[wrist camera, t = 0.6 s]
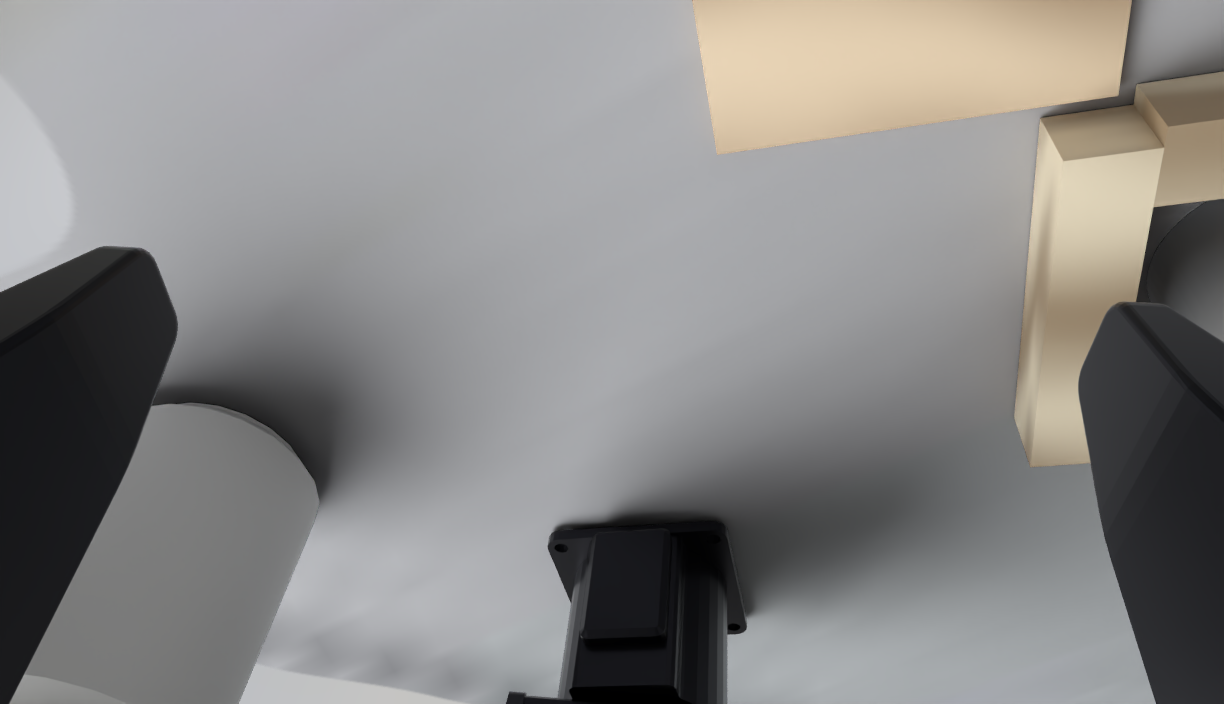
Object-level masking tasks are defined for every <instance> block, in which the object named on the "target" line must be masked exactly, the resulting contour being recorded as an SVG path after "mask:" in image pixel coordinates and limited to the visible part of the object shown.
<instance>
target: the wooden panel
mask: <svg viewBox="0 0 1224 704" xmlns="http://www.w3.org/2000/svg"><path fill="white" fill-rule="evenodd" d="M692 2H693V8H694V15H695V21H696V27H697V33H698V39H699V46H700V52H701V58H702V64H703V70H704V76H705V83H706V89H707V95H708V101H709V107H710V113H711V120H712V126H713V132H714V138H715V144H716V151H717V155H719V154H726V153H732V152H739V151H746V150H753V149H760V148H767V147H773V146H780V145H787V144H794V143H801V142H807V141H814V140H821V139H828V138H835V137H842V136H848V135H855V134H862V133H869V132H876V131H882V130H889V129H896V128H903V127H910V126H917V125H923V124H930V123H937V122H944V121H951V120H957V119H964V118H971V117H978V116H985V115H992V114H998V113H1005V112H1012V111H1019V110H1026V109H1032V108H1039V107H1046V106H1053V105H1060V104H1066V103H1073V102H1080V101H1087V100H1094V99H1101V98H1107V97H1114V96H1118V94H1119V87H1120V80H1121V73H1122V66H1123V59H1124V52H1125V45H1126V38H1127V31H1128V24H1129V17H1130V10H1131V3H1132V0H692Z"/></svg>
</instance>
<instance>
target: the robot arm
mask: <svg viewBox="0 0 1224 704" xmlns="http://www.w3.org/2000/svg"><path fill="white" fill-rule="evenodd" d="M177 331H178V322H177V316H176V312H175V310H174V307H173V305H172V302H171V300H170V297H169V294H168V292H167V289H166V287H165V284H164V282H163V279H162V276H161V274H160V271H159V269H158V266H157V264H156V262H155V260H154V258H153V256H152V255H151V254H150V253H149V252H148V251H146V250H144V249H142V248H135V247H118V246H103V247H99V248H96V249H94V250H92V251H90V252H87V253H85V254H83V255H81V256H79V257H77V258H74V259H72V260H70V261H68V262H66V263H63V264H61V265H59V266H57V267H55V268H52V269H50V270H48V271H46V272H44V273H41V274H39V275H37V276H35V277H33V278H30V279H28V280H26V281H24V282H22V283H20V284H17V285H15V286H13V287H11V288H9V289H6V290H4V291H2V292H0V704H10V702H11V700H12V698H13V696H14V694H15V692H16V690H17V688H18V686H19V684H20V682H21V680H22V678H23V676H24V674H25V672H26V670H27V668H28V666H29V664H30V662H31V660H32V658H33V656H34V654H35V652H36V650H37V648H38V646H39V644H40V642H41V640H42V638H43V636H44V635H45V633H46V631H47V629H48V627H49V625H50V623H51V621H52V619H53V617H54V615H55V613H56V611H57V609H58V607H59V605H60V603H61V601H62V599H63V597H64V595H65V593H66V591H67V589H68V587H69V585H70V583H71V581H72V579H73V577H74V575H75V573H76V571H77V569H78V567H79V565H80V563H81V561H82V559H83V557H84V555H85V553H86V551H87V549H88V547H89V545H90V543H91V541H92V540H93V538H94V536H95V534H96V532H97V530H98V528H99V526H100V524H101V522H102V520H103V518H104V516H105V514H106V512H107V510H108V508H109V506H110V504H111V502H112V500H113V498H114V496H115V494H116V492H117V490H118V488H119V486H120V484H121V482H122V479H123V477H124V475H125V473H126V471H127V469H128V467H129V464H130V462H131V459H132V457H133V454H134V452H135V450H136V447H137V444H138V442H139V439H140V436H141V434H142V431H143V428H144V425H145V423H146V420H147V417H148V415H149V412H150V409H151V406H152V404H153V401H154V398H155V396H156V393H157V390H158V387H159V385H160V382H161V379H162V377H163V374H164V371H165V368H166V366H167V363H168V360H169V357H170V355H171V352H172V349H173V347H174V344H175V341H176V337H177ZM1078 395H1079V401H1080V407H1081V412H1082V418H1083V424H1084V429H1085V435H1086V440H1087V446H1088V451H1089V457H1090V463H1091V468H1092V474H1093V479H1094V485H1095V491H1096V496H1097V502H1098V507H1099V513H1100V518H1101V522H1102V527H1103V532H1104V536H1105V540H1106V543H1107V547H1108V551H1109V554H1110V558H1111V561H1112V564H1113V567H1114V571H1115V574H1116V577H1117V580H1118V583H1119V587H1120V590H1121V593H1122V596H1123V599H1124V603H1125V606H1126V609H1127V612H1128V615H1129V619H1130V622H1131V625H1132V628H1133V631H1134V634H1135V638H1136V641H1137V644H1138V647H1139V650H1140V654H1141V657H1142V660H1143V663H1144V666H1145V670H1146V673H1147V676H1148V679H1149V682H1150V685H1151V689H1152V692H1153V695H1154V698H1155V701H1156V704H1224V342H1223V341H1221V340H1220V339H1218V338H1216V337H1215V336H1213V335H1212V334H1210V333H1209V332H1207V331H1206V330H1204V329H1203V328H1201V327H1200V326H1198V325H1196V324H1195V323H1193V322H1192V321H1190V320H1189V319H1187V318H1186V317H1184V316H1183V315H1181V314H1179V313H1178V312H1176V311H1175V310H1173V309H1172V308H1170V307H1168V306H1167V305H1164V304H1160V303H1144V302H1125V301H1122V302H1118V303H1116V304H1114V305H1112V306H1111V307H1110V308H1109V310H1108V311H1107V312H1106V314H1105V316H1104V318H1103V320H1102V322H1101V325H1100V327H1099V329H1098V331H1097V334H1096V336H1095V338H1094V340H1093V343H1092V345H1091V347H1090V349H1089V352H1088V354H1087V356H1086V358H1085V361H1084V363H1083V365H1082V368H1081V371H1080V375H1079V381H1078ZM548 550H549V552H550V555H551V557H552V559H553V562H554V564H555V566H556V569H557V571H558V574H559V576H560V578H561V581H562V583H563V585H564V588H565V590H566V592H567V595H568V597H569V600H570V602H571V609H570V616H569V623H568V629H567V636H566V643H565V650H564V657H563V664H562V671H561V678H560V685H559V691H558V698H548V697H536V696H526V693H523V692H511V691H510V692H509V695H508V698H507V702H506V704H727V635H728V634H740V633H742V632H744V631H745V630H746V628H747V617H746V613H745V608H744V603H743V599H742V594H741V590H740V585H739V580H738V576H737V571H736V567H735V562H734V557H733V553H732V548H731V544H730V539H729V534H728V530H727V528H726V526H725V525H724V524H722V523H720V522H717V521H705V522H689V523H673V524H658V525H642V526H626V527H610V528H594V529H579V530H563V531H556V532H553V533H552V534H551V535H550V536H549V542H548Z"/></svg>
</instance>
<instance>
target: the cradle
mask: <svg viewBox="0 0 1224 704" xmlns="http://www.w3.org/2000/svg"><path fill="white" fill-rule="evenodd" d="M1216 199H1224V71H1223V72H1216V73H1210V74H1203V75H1196V76H1189V77H1183V78H1176V79H1169V80H1163V81H1156V82H1149V83H1142V84H1137V85H1136V92H1135V98H1134V105H1127V106H1120V107H1113V108H1106V109H1099V110H1093V111H1086V112H1079V113H1072V114H1065V115H1058V116H1051V117H1044V118H1040V125H1039V137H1038V148H1037V160H1036V171H1035V183H1034V194H1033V206H1032V217H1031V229H1030V240H1029V252H1028V264H1027V275H1026V287H1025V298H1024V310H1023V321H1022V333H1021V344H1020V356H1019V367H1018V379H1017V390H1016V402H1015V413H1014V419H1015V422H1016V425H1017V428H1018V431H1019V434H1020V437H1021V440H1022V443H1023V446H1024V449H1025V452H1026V456H1027V459H1028V462H1029V465H1030V467H1042V466H1057V465H1071V464H1085V463H1090V457H1089V451H1088V446H1087V440H1086V435H1085V429H1084V424H1083V418H1082V412H1081V407H1080V401H1079V395H1078V381H1079V375H1080V371H1081V368H1082V365H1083V363H1084V361H1085V358H1086V356H1087V354H1088V352H1089V349H1090V347H1091V345H1092V343H1093V340H1094V338H1095V336H1096V334H1097V331H1098V329H1099V327H1100V325H1101V322H1102V320H1103V318H1104V316H1105V314H1106V312H1107V311H1108V310H1109V308H1110V307H1111V306H1112V305H1114V304H1116V303H1118V302H1122V301H1125V302H1136V298H1137V293H1138V287H1139V282H1140V277H1141V271H1142V266H1143V260H1144V255H1145V250H1146V244H1147V239H1148V233H1149V228H1150V223H1151V217H1152V212H1153V207H1159V206H1167V205H1176V204H1184V203H1192V202H1200V201H1208V200H1216Z"/></svg>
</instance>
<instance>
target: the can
mask: <svg viewBox="0 0 1224 704" xmlns="http://www.w3.org/2000/svg"><path fill="white" fill-rule="evenodd" d="M319 505H320V502H319V498H318V493H317V489H316V484H315V481H314V480H313V478H312V477H311V475H310V474H309V472H308V471H307V469H306V468H305V467H304V465H303V464H302V462H301V461H300V459H299V458H298V456H297V455H296V453H295V452H294V450H293V449H292V447H291V446H290V445H289V444H288V443H287V442H286V441H285V440H283V439H282V438H281V437H280V436H279V435H278V434H277V433H275V432H274V431H273V430H272V429H271V428H269V427H267V426H265V425H264V424H262V423H260V422H258V421H256V420H255V419H253V418H251V417H249V416H247V415H246V414H242V413H239V412H236V411H233V410H230V409H227V408H224V407H221V406H218V405H209V404H200V403H192V402H189V403H182V404H164V405H156V406H151V409H150V412H149V415H148V417H147V420H146V423H145V425H144V428H143V431H142V434H141V436H140V439H139V442H138V444H137V447H136V450H135V452H134V454H133V457H132V459H131V462H130V464H129V467H128V469H127V471H126V473H125V475H124V477H123V479H122V482H121V484H120V486H119V488H118V490H117V492H116V494H115V496H114V498H113V500H112V502H111V504H110V506H109V508H108V510H107V512H106V514H105V516H104V518H103V520H102V522H101V524H100V526H99V528H98V530H97V532H96V534H95V536H94V538H93V540H92V541H91V543H90V545H89V547H88V549H87V551H86V553H85V555H84V557H83V559H82V561H81V563H80V565H79V567H78V569H77V571H76V573H75V575H74V577H73V579H72V581H71V583H70V585H69V587H68V589H67V591H66V593H65V595H64V597H63V599H62V601H61V603H60V605H59V607H58V609H57V611H56V613H55V615H54V617H53V619H52V621H51V623H50V625H49V627H48V629H47V631H46V633H45V635H44V636H43V638H42V640H41V642H40V644H39V646H38V648H37V650H36V652H35V654H34V656H33V658H32V660H31V662H30V664H29V666H28V668H27V670H26V672H25V674H24V676H23V678H22V680H21V682H20V684H19V686H18V688H17V690H16V692H15V694H14V696H13V698H12V700H11V702H10V704H239V701H240V699H241V697H242V694H243V692H244V689H245V687H246V685H247V682H248V680H249V677H250V675H251V673H252V670H253V668H254V666H255V663H256V661H257V658H258V656H259V654H260V651H261V649H262V646H263V644H264V642H265V639H266V637H267V634H268V632H269V630H270V627H271V625H272V622H273V620H274V618H275V615H276V613H277V610H278V608H279V606H280V603H281V601H282V598H283V596H284V594H285V591H286V589H287V586H288V584H289V582H290V579H291V577H292V574H293V572H294V570H295V567H296V565H297V562H298V560H299V558H300V555H301V553H302V551H303V548H304V546H305V543H306V541H307V539H308V536H309V534H310V531H311V529H312V527H313V524H314V522H315V518H316V515H317V511H318V508H319Z"/></svg>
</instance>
